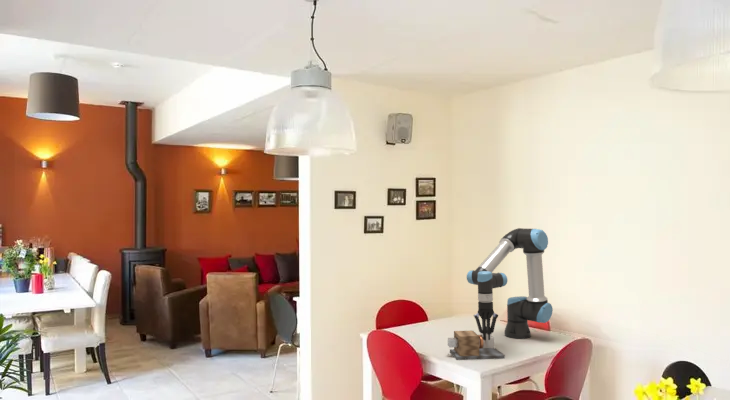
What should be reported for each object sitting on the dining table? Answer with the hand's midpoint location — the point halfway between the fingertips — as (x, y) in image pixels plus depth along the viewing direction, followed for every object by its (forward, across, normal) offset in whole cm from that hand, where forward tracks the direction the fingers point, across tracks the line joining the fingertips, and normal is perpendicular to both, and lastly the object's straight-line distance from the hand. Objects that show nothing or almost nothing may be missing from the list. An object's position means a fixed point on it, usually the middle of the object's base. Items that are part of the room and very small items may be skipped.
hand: (486, 346), depth 284 cm
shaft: (+1, -12, 0) cm, 12 cm away
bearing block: (+4, -5, 0) cm, 7 cm away
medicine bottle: (+5, +3, +11) cm, 13 cm away
